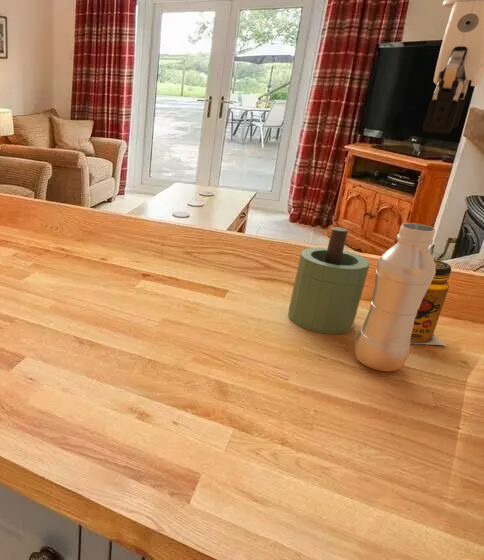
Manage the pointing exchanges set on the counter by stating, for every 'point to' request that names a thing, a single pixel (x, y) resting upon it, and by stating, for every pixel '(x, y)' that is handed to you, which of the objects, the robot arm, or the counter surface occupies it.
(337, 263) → the brush
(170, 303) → the counter surface
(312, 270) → the green hollow cylinder cup
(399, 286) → the plastic bottle
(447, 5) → the robot arm
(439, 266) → the condiment
